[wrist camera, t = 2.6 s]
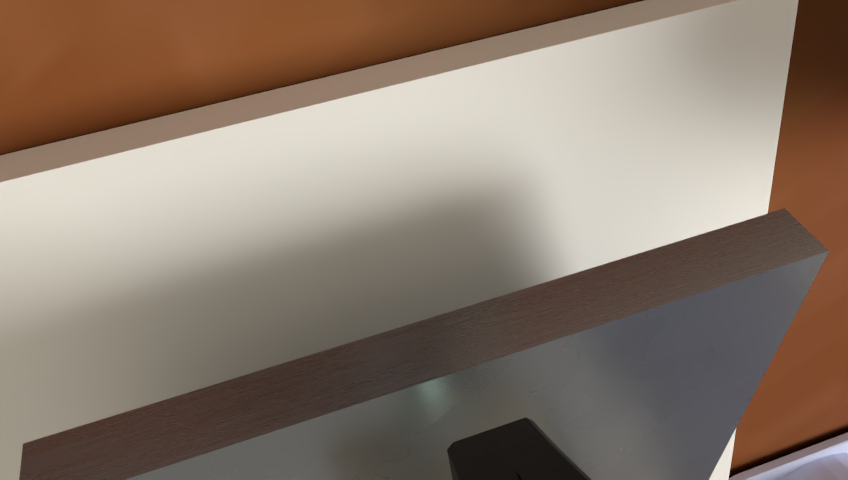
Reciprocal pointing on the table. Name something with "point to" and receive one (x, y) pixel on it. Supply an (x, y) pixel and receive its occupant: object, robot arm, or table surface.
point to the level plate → (494, 379)
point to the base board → (374, 202)
